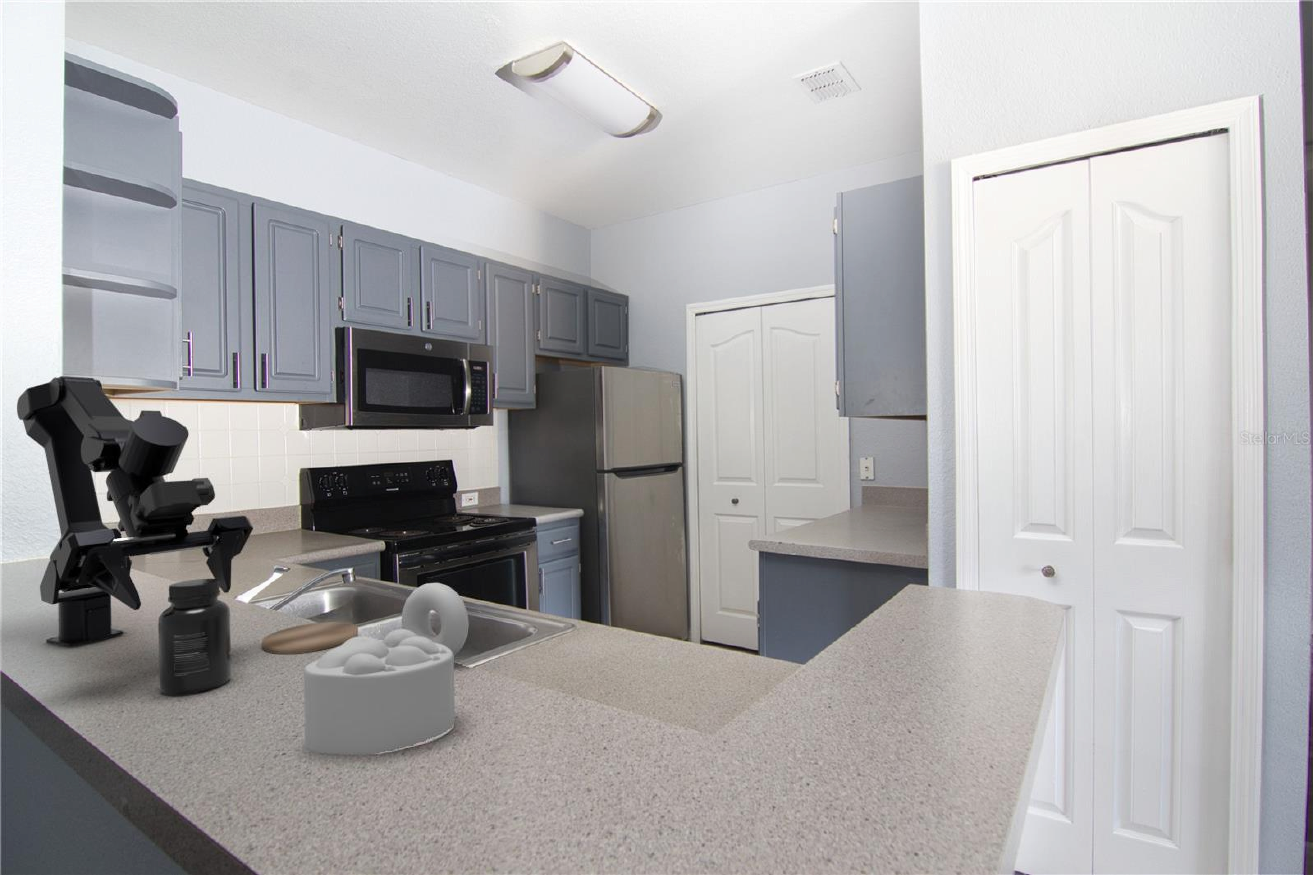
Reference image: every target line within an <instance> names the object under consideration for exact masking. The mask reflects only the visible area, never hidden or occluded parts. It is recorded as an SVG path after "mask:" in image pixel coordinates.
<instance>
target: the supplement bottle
mask: <svg viewBox="0 0 1313 875" xmlns="http://www.w3.org/2000/svg"><path fill="white" fill-rule="evenodd" d="M219 596H221V590H220V587H219V580H218V579H215V578H200V579H199V578H197V579H190V580H184V581H179V582H176V583H175V582H174V583H172V584H170V585H169V586H168V597H167V601H168V603H171V605H170V606H169V607H167V608H166V609H165V610H163V612H161V614H160V615H159V618H158V622H157V624H158V626H157V627H158V630H157V631H158V675H159V677H158V678H159V679H158V680H159V690H160V691H161V692H162V694H165V695H168V696H169V695H170V696H183V695H185V696H186V695H191V694H199V693H202V692H206V691H208V690H212V689H215V688H217V687H220V686H222V685H223V684H226V683H227V682H228V681H229V680H230V678H231V676H232V646H231V645H232V644H231V643H232V642H231V641H232V640H231V639H232V638H231V637H232V636H231V610H230V609H231V608H230V607H229V605H228V604H227V603H226V602H224V601H222V600H219V598H218V597H219Z"/></svg>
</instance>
